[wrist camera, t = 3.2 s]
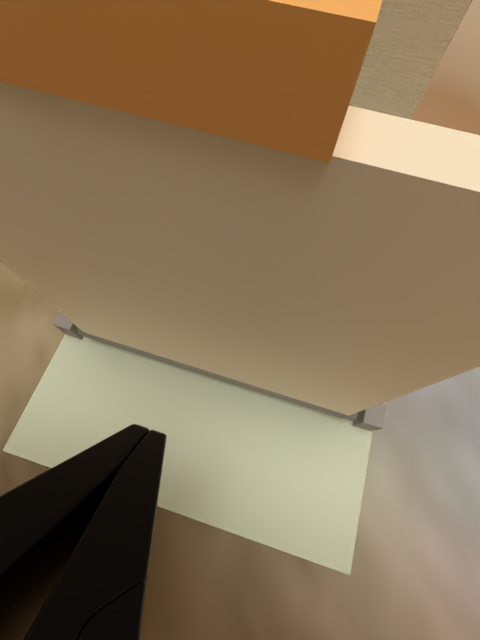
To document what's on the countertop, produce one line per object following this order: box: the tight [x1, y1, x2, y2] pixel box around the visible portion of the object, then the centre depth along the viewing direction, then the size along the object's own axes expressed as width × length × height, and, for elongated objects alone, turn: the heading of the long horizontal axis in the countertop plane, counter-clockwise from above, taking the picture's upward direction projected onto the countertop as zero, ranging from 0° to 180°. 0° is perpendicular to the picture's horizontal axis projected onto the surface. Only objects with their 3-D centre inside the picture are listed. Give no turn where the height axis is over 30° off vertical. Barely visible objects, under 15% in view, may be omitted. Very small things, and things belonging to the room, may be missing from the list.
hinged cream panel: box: [0, 0, 480, 421], centre depth 9 cm, size 1×13×14 cm, turn 72°
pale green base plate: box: [3, 312, 386, 575], centre depth 17 cm, size 17×15×2 cm
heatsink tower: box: [349, 0, 472, 119], centre depth 12 cm, size 5×8×15 cm, turn 73°
